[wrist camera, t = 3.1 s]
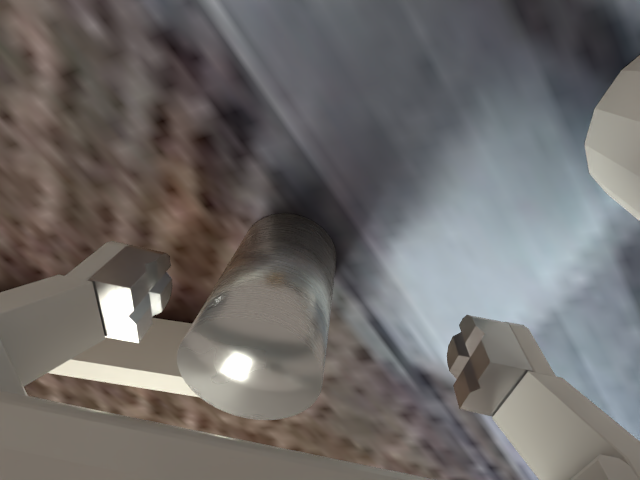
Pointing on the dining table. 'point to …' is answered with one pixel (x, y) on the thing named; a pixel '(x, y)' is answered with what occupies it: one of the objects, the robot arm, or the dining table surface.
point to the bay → (135, 360)
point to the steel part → (265, 323)
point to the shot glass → (618, 140)
